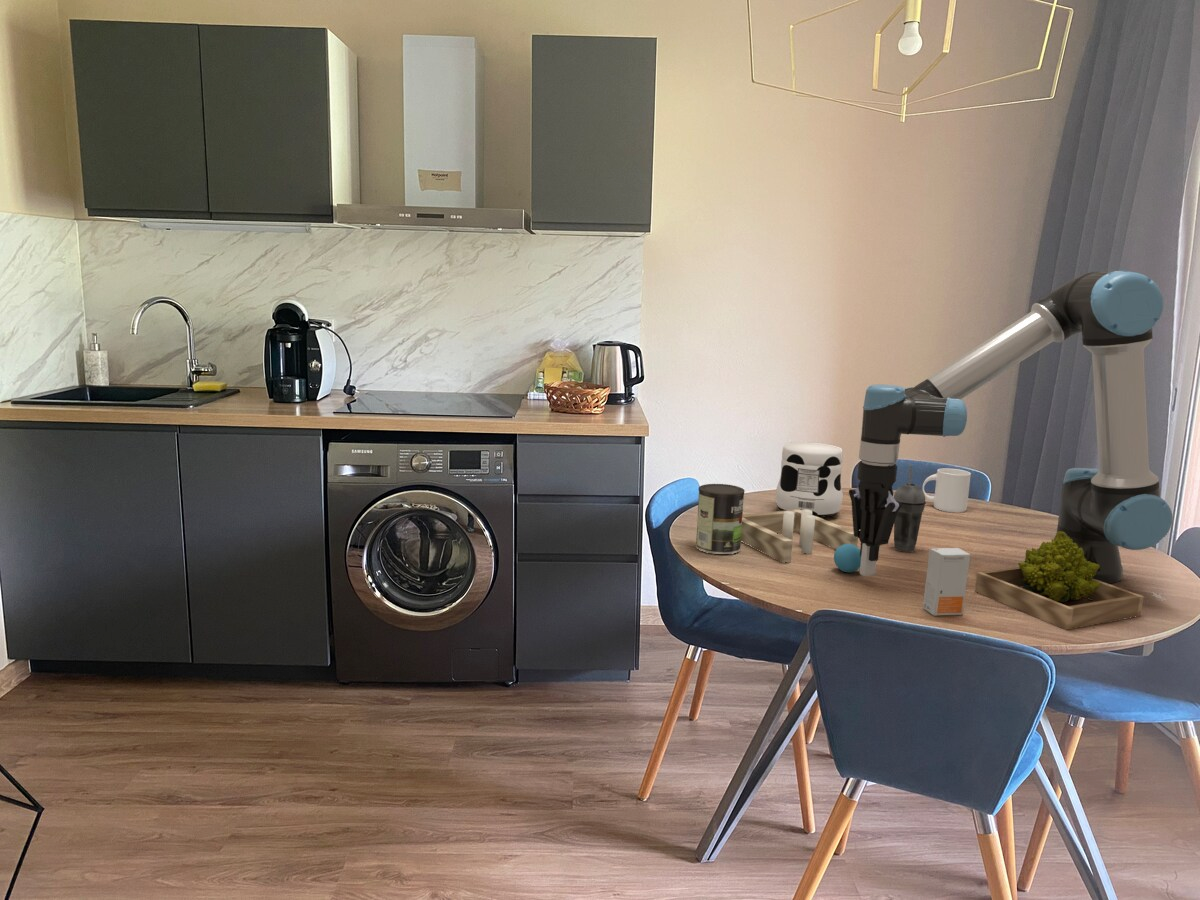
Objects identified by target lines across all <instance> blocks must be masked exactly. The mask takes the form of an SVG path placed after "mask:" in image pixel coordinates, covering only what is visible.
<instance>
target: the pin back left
mask: <svg viewBox="0 0 1200 900" xmlns="http://www.w3.org/2000/svg"><path fill="white" fill-rule="evenodd" d="M793 526H794V512H792V511H784V516H783V529H782V533H781V535H782V536H784V537H786V538H788V539H790V540H792V541H793V538H794V537H793V536H794V535H793V534H794V532H793Z"/></svg>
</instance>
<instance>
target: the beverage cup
mask: <svg viewBox="0 0 1200 900" xmlns="http://www.w3.org/2000/svg"><path fill="white" fill-rule="evenodd" d="M912 467H913V466H912V465H909V469H908V470H909V471H908V473H909V475H908V483H904V484H902V485H901V486H899V487H898V488H897V489H896V490H895V491H894V493H893V498H894V499H895V500H896V502H901V503H902V507H901V508H900V510H899V511H898V512H897V515H896V518H895V522H894V525H893V544H894V547H893V549H894V548H895V549H894V550H896V551H898V550H900V551H899V552H903V551H905V553H913V552H915V548H916V545H917V541H918V535H919V531H920V526H921V521H922V515H923V513H924V510H925V507H926V506H925V505H926V504H927V502H926V498H925V495H924V492H923V488H921V487H920V486H919V485H918V484H914V483H912ZM912 551H913V552H912Z"/></svg>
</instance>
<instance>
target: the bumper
mask: <svg viewBox="0 0 1200 900" xmlns="http://www.w3.org/2000/svg"><path fill="white" fill-rule="evenodd" d="M787 511H792V512H794V526H793V533H798V534H800V526H801V513H802V510H799V509H798V510H787ZM783 516H784V511H782V510H777V511H768V512H755V513H744V514H743V515H742V529H741V541H743V542H744V543H746V544H749V545H751V546H752V547H754V548H756V549H758V550H760V551H762V552H764V553H766V554H768V555H770V556H772V557H773V558H772V557H771V558H772V559H774V558H775V559H777V560H779V561H781V562H783V563H782V564H786V563H785V562H791V563H792V555H793V553H792V552H793V539H792V540H790V539H788V538H786V537H784V536H782V529H783ZM813 516H814V515H813ZM777 533H778V534H777ZM813 539H814V540H813V541H816V542H818V543H820V542H821V544H822V543H823V545H824V546H828V547H829V546H830V547H829V548H831V547H832V549H834V550H835V551H836V550H837V548H838V547H840V546H841V545H844V544H852V545H855V546H856V547H858V543H859V538H858V537H855V536H854V530H850V529H849V528H847V527H843V526H842V525H841V526H840V525H838V524H836V523H833V522H831V521H829V520H826V519H824V518H823V517H817V516H815V525H814V537H813ZM744 543H743V544H744ZM746 544H745V545H746ZM752 547H751V548H752ZM754 548H753V549H754ZM756 549H755V550H756ZM758 550H757V551H758ZM760 551H759V552H760ZM762 552H761V553H762ZM764 553H763V554H764ZM766 554H765V555H766ZM768 555H767V556H768ZM770 556H769V557H770ZM775 559H774V560H775ZM777 560H776V561H777ZM779 561H778V562H779ZM781 562H780V563H781Z"/></svg>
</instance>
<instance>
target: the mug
mask: <svg viewBox="0 0 1200 900" xmlns="http://www.w3.org/2000/svg"><path fill="white" fill-rule="evenodd" d="M971 475H972V473H971V472H970V471H967V470H964V469H958V468H948V467H947V468H937V471H936V473H934V474H931V475H929V476H927V477H926V478H925V480H924V481H923V483H922V490H923V492H924V495H925V500H928V501H930V502H931V503H933V507H934V508H935V509H936V510H938V509H939V510H938V511H941V510H942V511H941V512H945V511H947V512H946V513H952V512H961V513H964V512H966V511H967V509H968V502H969V494H970V485H971V484H970V483H971ZM930 481H935V489H934V490H935V491H934V495H929V494H927V493H926V491H925V486H926V484H927V483H928V482H930Z"/></svg>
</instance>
